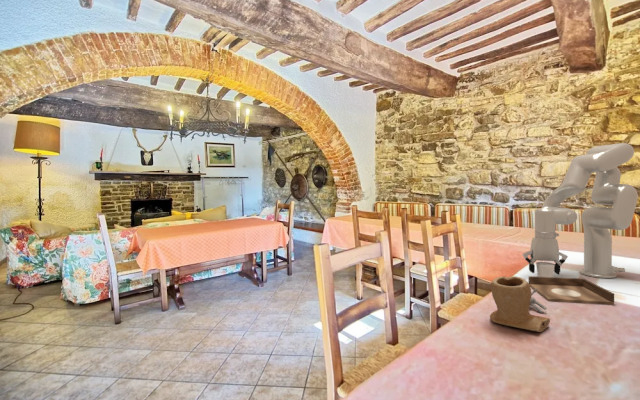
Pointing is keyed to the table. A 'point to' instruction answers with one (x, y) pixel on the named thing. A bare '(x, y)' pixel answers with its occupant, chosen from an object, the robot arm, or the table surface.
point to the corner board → (571, 290)
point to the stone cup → (515, 304)
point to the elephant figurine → (533, 302)
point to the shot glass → (545, 269)
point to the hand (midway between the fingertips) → (544, 272)
